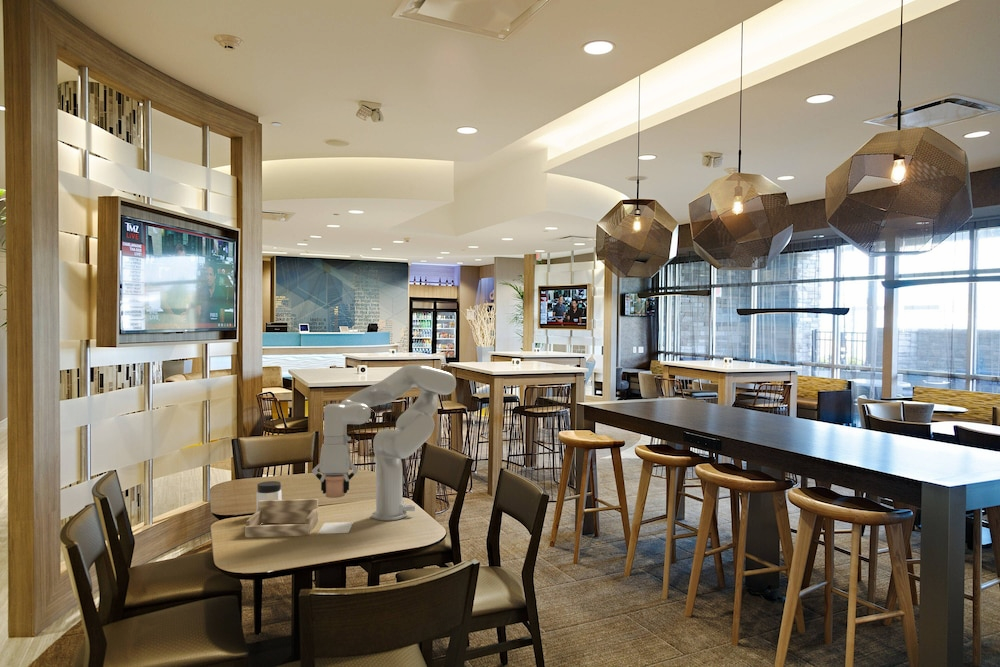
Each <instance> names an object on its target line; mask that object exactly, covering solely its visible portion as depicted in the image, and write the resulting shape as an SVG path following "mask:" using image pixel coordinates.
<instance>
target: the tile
mask: <svg viewBox="0 0 1000 667" xmlns="http://www.w3.org/2000/svg"><path fill="white" fill-rule="evenodd" d="M353 525H354V521H348V522H347V521H342V522H338V521H337V522H323V525H322V526H321V528H319V531H318V532H317V535H326V534H327V535H328V534H329V535H332V534H349V533H350V531H351V529H352V526H353Z"/></svg>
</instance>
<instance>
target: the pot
mask: <svg viewBox="0 0 1000 667" xmlns="http://www.w3.org/2000/svg"><path fill="white" fill-rule="evenodd" d="M325 480H326V493H325V497H326V498H328V499H329V498H331V499H334V498H335V499H336V498H337V499H338V498H343V497H344V496H345V495H346V493H344V481H345V476H343V474H327V475H326V476H325Z"/></svg>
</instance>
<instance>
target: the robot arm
mask: <svg viewBox="0 0 1000 667" xmlns="http://www.w3.org/2000/svg"><path fill="white" fill-rule="evenodd" d="M456 387H457V379H456V377H455V375H453V374H452V373H451V372H448V371H445V370H441V369H437V368H434V367H431V366H427V365H422V364H406V365H404V366H402V367H401V368H399V369H397V370H396V371H395V372H393V373H391V374H390V375H389V376H387V377H385V378H384V379H382V380H380V381H379V382H377V383H374V384H371V385H369V386H367V387H364V388H363V389H360V390H358V391H357V392H354V393H353V394H351V395H350V396H348V397H347V398H345V399H343V400H342V401H341V402H340V403H329V404H326V405H325V406H324V408H323V409H324V411H323V420H324V421H323V423H324V424H323V443H322V444H321V448H320V456H319V463H318V464H317V465H316V466H314V467H313V469H311V473H312V474H313V475H314V476H315V477H316V478H317V480H318V481H320V482H321V483H320V485H321V486H320V488H321V489H320V491H321V492H322V494H325V495H326V480H325V476H326V475H327V474H343V476H345V481H344V493H345V494H347V493H348V491H350V480H352V478H353V477H354V476H355V475H357V473H358V472H359V467H357V466H356V465H355V464H354V463H353V462H352V456H351V446H350V443H348V442H350V441H352V437H351V436H349V435H348V434H347V433H348V432H347V430H348V429H347V425H363V424H365V423H367V422H368V421H369V419H370V418H371V413H372V411H371V409H370V408H372V407H376V406H379V405H380V406H381V405H386V404H390V403H392V402H394V401H395V400H397V399H398V398H400V397H402V396H403V395H404V394H406V393H407V392H409V391H410V390H411V389H413V388H416V389H419V395H418V398H417V399H415V402H413V403H412V404H411V405H410V406H409V407H408V408H407V409H406V410H405V411H404V412H402V413H401V414H400V415H399V417H398V418H397V420H396V422H395V427H396V429H397V430H396V429H392V428H391V429H390V428H384V429H380V430H379V431H378V432H377V433H376V434H375V436H374V438H373V442H372V446H373V452H374V459H375V501H376V502H375V505H376V506H375V508H376V510H375V511H373V512H372V513H371V518H372V519H373V520H376V521H385V522H386V521H396V520H401V519H404V518H406V517H407V515H408V512H415V511H416V506H415V505H413V504H405V501H404V500H403V461H402V459H404V460H405V459H407V458H409V457H410V456H412V455H413V454H414V453H415V452H416V451H418V450H419V448H420V447H421V446H423V444H424V443H425V442H427V440H428V439H429V438H430V437H431V436H432V434H433V433H434V429H435V425H436V424H435V420H434V418H433V416H434V415H435V414H436V412H437V409H438V406H439V395H442V396H443V395H444V396H447V395H450V394H452V393H453V392H454V391H455V389H456ZM351 469H352V470H353V471H352V472H351V473H349V472H350V471H351ZM318 470H319V471H318Z"/></svg>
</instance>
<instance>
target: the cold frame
mask: <svg viewBox="0 0 1000 667" xmlns="http://www.w3.org/2000/svg"><path fill="white" fill-rule="evenodd" d="M318 522H319V498H301V499H300V498H299V499H298V498H296V499H282V500H259V501H258V510H257V509H256V511H255V512H254V513H253V514H252V515H250V517H249V518H248V519H247V520H246V521H245V526H244V538H271V537H272V538H274V537H275V538H276V537H301V536H302V537H303V536H310V534H311V533H312V531H313V530H314V529H315V527H316V526H317V524H318ZM261 523H279V524H261ZM260 524H261V525H260Z"/></svg>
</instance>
